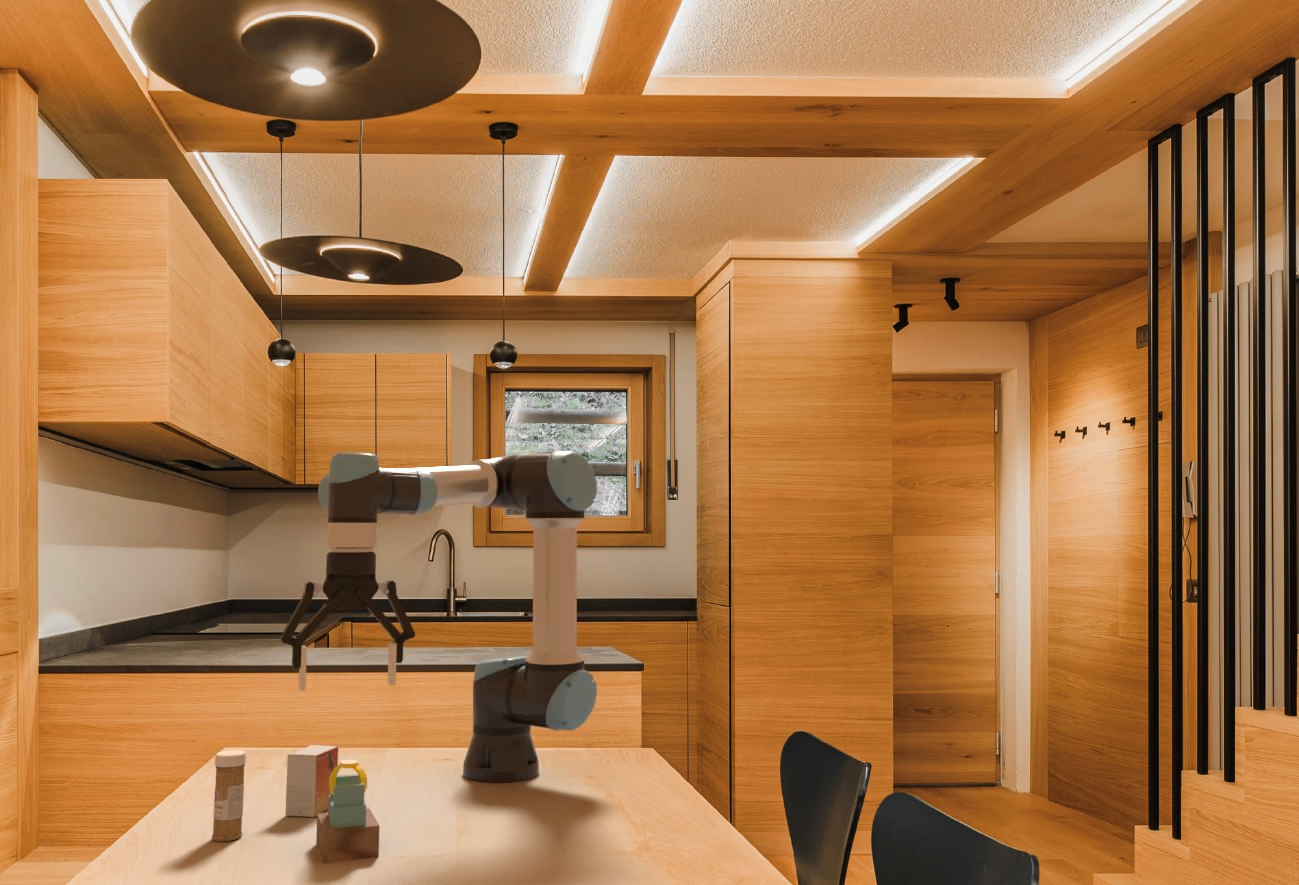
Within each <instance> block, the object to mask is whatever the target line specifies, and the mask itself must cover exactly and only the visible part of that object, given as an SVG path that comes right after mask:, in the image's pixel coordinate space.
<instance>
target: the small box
mask: <svg viewBox="0 0 1299 885" xmlns="http://www.w3.org/2000/svg"><path fill="white" fill-rule="evenodd" d="M286 762H287V764H286V766H287V767H286V768H287V769H286V788H285V789H286V790H285V791H286V792H285V797H286V798H285V816H289V817H290V816H291V817H303V818H304V817H305V818H315V817H317V814H321V813H325V812H327V811H328V805H329V795H331V790H330V786H329V780H330V775H331V773H332V771H333V769H334V768H335V767H337V766H338V765H339V764H338V763H339V746H335V745H316V744H311V745H308V746H307V747H304V748H302V749H298V750H297V751H294V752H291V753H288V754H287V761H286ZM336 776H338V774H337V775H336Z"/></svg>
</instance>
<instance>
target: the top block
mask: <svg viewBox="0 0 1299 885" xmlns="http://www.w3.org/2000/svg"><path fill="white" fill-rule="evenodd" d="M364 786H365V784H364V783H360V777H359V775H358V773H354V774H342V775H337V776H336V785H334V796H333V795H332V793H331V795H329V805H328V810H327V813H328V816H329V821H330V825H331V829H335V828H345V827H356V826H366V809H367V803H366V800H365V793H364Z"/></svg>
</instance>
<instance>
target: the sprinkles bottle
mask: <svg viewBox="0 0 1299 885" xmlns="http://www.w3.org/2000/svg"><path fill="white" fill-rule="evenodd" d="M246 754H247V753H246V751H244V750H241V749H229V750H228V749H227V750H222V751H219V752H217V753H216V754H215V756H214V765H215V788H214V802H213V827H212V835H211V839H212V840H214V841H215V842H230V841H235V840H238V839H240V838H241V837H242V836H243V832H242V826H243V824H242V823H243V814H244V792H245V780H244V779H245V766H246V763H247V762H246V761H247V760H246V759H247V755H246Z"/></svg>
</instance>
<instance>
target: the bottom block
mask: <svg viewBox="0 0 1299 885" xmlns="http://www.w3.org/2000/svg"><path fill="white" fill-rule="evenodd" d="M315 842H316V843H315V844H316V845H315V846H316V847H317V850H318V853H319V856H320V858H321V861H322V864H323V865H325V864H326V865H327V864H334V863H342V862H351V861H357V860H359V861H360V860H364V859H366V860H367V859H373V858H379V855H380V854H379V853H380V851H379V850H380V824H379V822H378V820H377V819H376V817H375V815H374V814H373V812H372V810H371V808H366V826H356V827H345V828H335V829H331V825H330V821H329V816H328V812H322V813H320V814H317V816H316V841H315Z"/></svg>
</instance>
